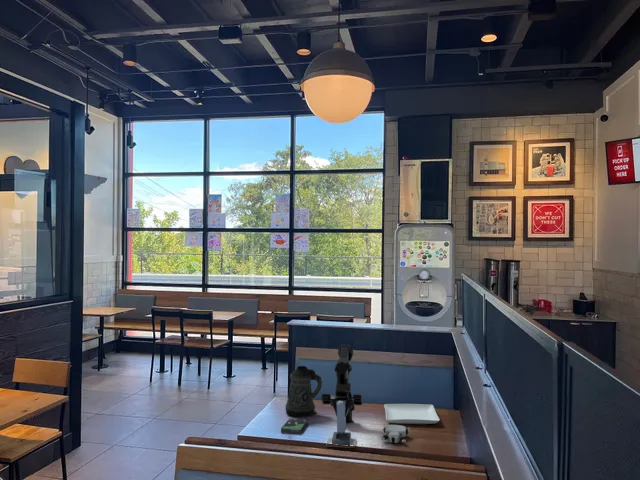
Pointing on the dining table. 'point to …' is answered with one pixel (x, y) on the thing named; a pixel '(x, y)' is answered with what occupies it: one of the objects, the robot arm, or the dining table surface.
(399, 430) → the robot toy
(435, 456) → the dining table surface
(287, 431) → the disk drive
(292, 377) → the beer stein
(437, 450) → the dining table surface
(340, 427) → the light blue tall block
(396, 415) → the square plate
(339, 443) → the frame
